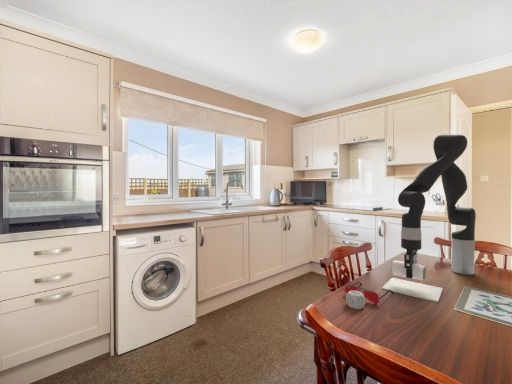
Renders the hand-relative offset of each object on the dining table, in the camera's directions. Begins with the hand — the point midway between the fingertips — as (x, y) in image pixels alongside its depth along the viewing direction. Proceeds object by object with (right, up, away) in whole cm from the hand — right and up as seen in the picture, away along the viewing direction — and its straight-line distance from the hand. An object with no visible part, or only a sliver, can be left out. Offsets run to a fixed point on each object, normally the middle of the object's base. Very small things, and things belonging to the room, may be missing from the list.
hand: (411, 275), depth 111 cm
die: (-30, -7, -15) cm, 34 cm away
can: (-5, +2, +5) cm, 8 cm away
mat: (0, -6, 0) cm, 6 cm away
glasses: (-20, -7, -4) cm, 22 cm away
